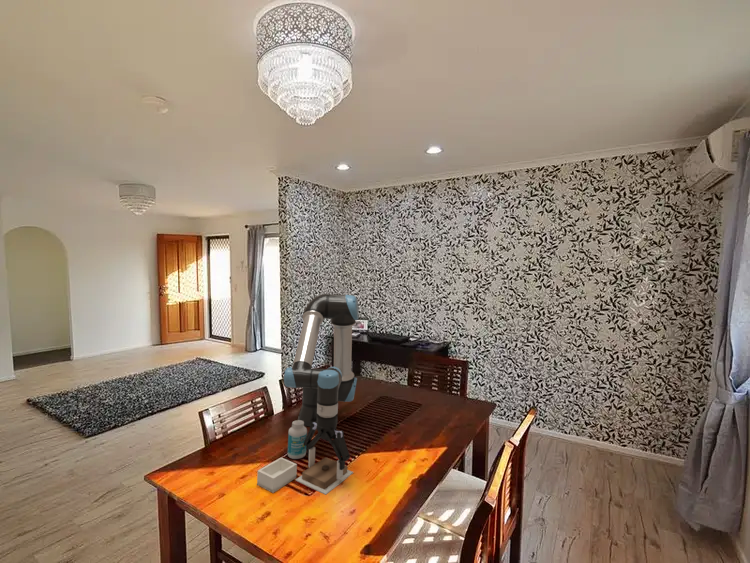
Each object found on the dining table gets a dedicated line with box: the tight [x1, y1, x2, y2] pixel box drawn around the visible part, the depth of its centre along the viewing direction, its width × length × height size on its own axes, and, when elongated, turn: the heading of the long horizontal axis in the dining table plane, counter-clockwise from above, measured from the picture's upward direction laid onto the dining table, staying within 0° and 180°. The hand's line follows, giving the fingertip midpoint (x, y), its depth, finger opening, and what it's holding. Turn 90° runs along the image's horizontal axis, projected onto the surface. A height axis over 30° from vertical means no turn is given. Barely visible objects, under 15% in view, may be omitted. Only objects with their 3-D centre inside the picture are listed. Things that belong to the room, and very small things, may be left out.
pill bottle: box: [287, 419, 308, 460], centre depth 146 cm, size 8×7×14 cm
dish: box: [256, 456, 298, 494], centre depth 128 cm, size 8×11×5 cm
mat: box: [295, 469, 354, 495], centre depth 132 cm, size 14×16×1 cm
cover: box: [301, 456, 348, 490], centre depth 132 cm, size 10×13×3 cm
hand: (325, 471), depth 132 cm, fingers open, 13 cm apart
